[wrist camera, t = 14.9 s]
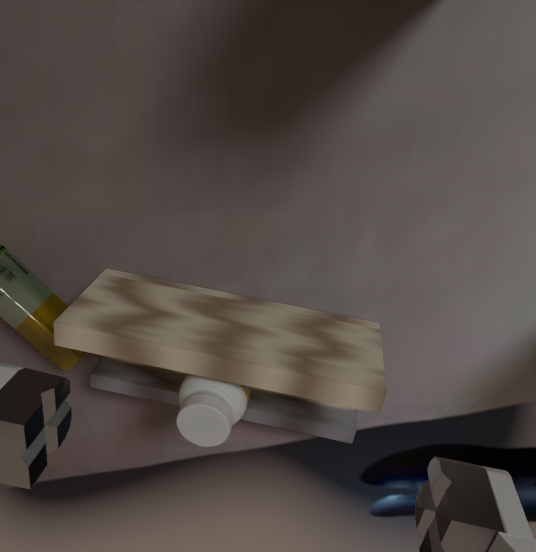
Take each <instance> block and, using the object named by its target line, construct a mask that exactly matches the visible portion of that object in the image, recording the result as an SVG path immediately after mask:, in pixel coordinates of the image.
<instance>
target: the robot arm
mask: <svg viewBox="0 0 536 552" xmlns="http://www.w3.org/2000/svg"><path fill="white" fill-rule="evenodd" d="M70 392H71V391H70V380H68V379H67V378H65V377H61V376H57V375H53V374H49V373H44V372H40V371H36V370H32V369H28V368H21V367H17V366H13V365H9V364H5V363H3V364H0V483H1V484H6V485H11V486H16V487H22V488H26V489H31V488H32V486H33V485H34V483H35V482H36V481H37V479H38V478H39V476H40V475H41V473H42V472H43V470H44V469H45V467H46V466H47V455H48V454H49V453H51V452H53V451H55V450H57V449H58V448H59V447H60V445H61V444H62V442H63V441H64V439H65V437H66V435H67V432H68V430H69V427H70V422H71V416H72V413H71V406H70V405H69V404H68V402H67V401H66V400H65V399H66V398H67V396H68V395H69V393H70ZM427 470H428V476H429V480H427V481H425V482H423V483H422V484H421V486H420V489H419V491H418V494H417V500H416V506H415V520H416V528H417V530H418V531H419V533H420V534H421V535H422V537H423V538H424V539H423V541H422V544H421V546H420V548H419V550H420V552H536V540H534V538H533V535H532V532H531V530H530V527H529V524H528V522H527V519H526V516H525V514H524V511H523V508H522V505H521V503H520V500H519V497H518V495H517V492H516V489H515V486H514V484H513V481H512V478H511V476H510V474H509V473H508V472H507V471H504V470H499V469H494V468H489V467H484V466H482V467H481V466H478V465H473V464H468V463H464V462H459V461H454V460H449V459H444V458H439V457H434V458H433V459H432V460H431V462H430V464H429V466H428V469H427Z"/></svg>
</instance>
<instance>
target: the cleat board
mask: <svg viewBox="0 0 536 552" xmlns="http://www.w3.org/2000/svg"><path fill="white" fill-rule="evenodd" d="M53 326H54V343H55V345H56V346H61V347H66V348H70V349H75V350H80V351H84V352H89V353H94V354H99V355H102V359H101V360H100V361H99V363H98V364H97V365H96V367H95V368H94V369H93V371H92V372H91V374H90V387H92V388H97V389H102V390H106V391H111V392H116V393H120V394H125V395H130V396H134V397H139V398H143V399H148V400H153V401H157V402H162V403H167V404H171V405H176V406H180V402H179V391H180V387H181V385H182V382H183V380H184V378H185V376H186V374H187V373H188V374H193V375H198V376H203V377H207V378H212V379H217V380H222V381H226V382H231V383H236V384H240V385H245V386H250V387H252V388H251V392H250V396H249V400H248V403H247V407H246V410H245V412H244V414H243V416H242V417H241V420H245V421H250V422H255V423H259V424H264V425H269V426H273V427H278V428H283V429H287V430H292V431H296V432H301V433H306V434H310V435H315V436H320V437H324V438H329V439H334V440H338V441H343V442H347V443H352V442H353V439H354V436H355V432H356V409H359V410H363V411H368V412H373V413H378V414H380V411H381V408H382V405H383V402H384V399H385V395H386V392H387V391H386V381H385V372H384V362H383V352H382V343H381V333H380V324H379V323H376V322H371V321H366V320H361V319H356V318H351V317H346V316H341V315H336V314H331V313H326V312H321V311H316V310H311V309H306V308H301V307H296V306H291V305H286V304H281V303H276V302H271V301H267V300H262V299H257V298H252V297H247V296H242V295H237V294H232V293H227V292H222V291H217V290H212V289H207V288H202V287H197V286H192V285H187V284H182V283H177V282H172V281H167V280H162V279H157V278H152V277H147V276H142V275H137V274H132V273H127V272H122V271H117V270H112V269H107V268H106V269H105V270H104V271H103V272H102V273H101V274H100V276H99V277H98V278H97V279H96V280H95V281H94V282H93V283H92V284H91V285H90V286H89V287H88V288H87V289H86V290H85V291H84V292H83V293H82V294H81V295H80V296H79V297H78V298H77V299H76V300H75V301H74V302H73V303H72V304H71V305H70V306H69V307H68V308H67V309H66V310H65V311H64V312H63V313H62V314H61V315H60V316H59V317H58V318H57V319H56V320H55V321H54V322H53Z"/></svg>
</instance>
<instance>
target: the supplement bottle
mask: <svg viewBox="0 0 536 552" xmlns="http://www.w3.org/2000/svg"><path fill="white" fill-rule="evenodd" d="M251 388H252V387H250V386H245V385H240V384H236V383H231V382H226V381H222V380H217V379H212V378H207V377H203V376H198V375H193V374H188V373H187V374H186V376H185V378H184V380H183V382H182V385H181V387H180V391H179V402H180V406H181V407H180V410H179V413H178V415H177V427H178V430H179V431H180V433H181V434H182V436H183V437H185V438H186V439H187V440H188V441H190V442H192V443H194V444H196V445H199V446H204V447H212V446H217V445H219V444H221V443H223V442H224V441H225V440H226V439H227V438H228V436H229V434H230V431H231V427H232V425H234V424H235V423H237V422H238V421H239V420H240V419H241V417H242V416H243V414H244V412H245V410H246V407H247V403H248V400H249V396H250V392H251Z"/></svg>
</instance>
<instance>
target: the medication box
mask: <svg viewBox="0 0 536 552" xmlns="http://www.w3.org/2000/svg"><path fill="white" fill-rule="evenodd" d="M67 308H68V306H67V305H66V304H65V303H64V302H62V301H61V300H60V299H59V298H58V297H57V296H56V295H55V294H54V293H53V292H52V291H51V290H50V289H49V288H48V287H46V286H45V285H44V284H43V283H42V282H41V281H40V280H39V279H38V278H37V277H36V276H35V275H34V274H33V273H32V272H30V271H29V270H28V269H27V268H26V267H25V266H24V265H23V264H22V263H21V262H20V261H19V260H18V259H16V258H15V257H14V256H13V255H12V254H11V253H10V252H9V251H8V250H7V249H6V248H5V247H3V246H2V245H0V317H1V318H2V319H4V320H5V321H6V322H7V323H8V324H9V325H10V326H12V327H13V328H14V329H15V330H16V331H17V332H19V333H20V334H21V335H22V336H23V337H24V338H25V339H27V340H28V341H29V342H30V343H31V344H32V345H33V346H35V347H36V348H37V349H38V350H39V351H40V352H42V353H43V354H44V355H45V356H46V357H47V358H48V359H50V360H51V361H52V362H53V363H54V364H55V365H56V366H58V367H59V368H60V369H61V370H62V371H67V370H68V369H70V368H71V367H72V366H74V365H75V364H76V363H77V362H78V361H79V360H80V359H81V357H82V356H83V355H84V353H85V352H84V351H80V350H75V349H70V348H66V347H61V346H56V345H55V343H54V326H53V322H54V321H55V320H56V319H57V318H58V317H59V316H60V315H61V314H62V313H63V312H64V311H65V310H66V309H67Z"/></svg>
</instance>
